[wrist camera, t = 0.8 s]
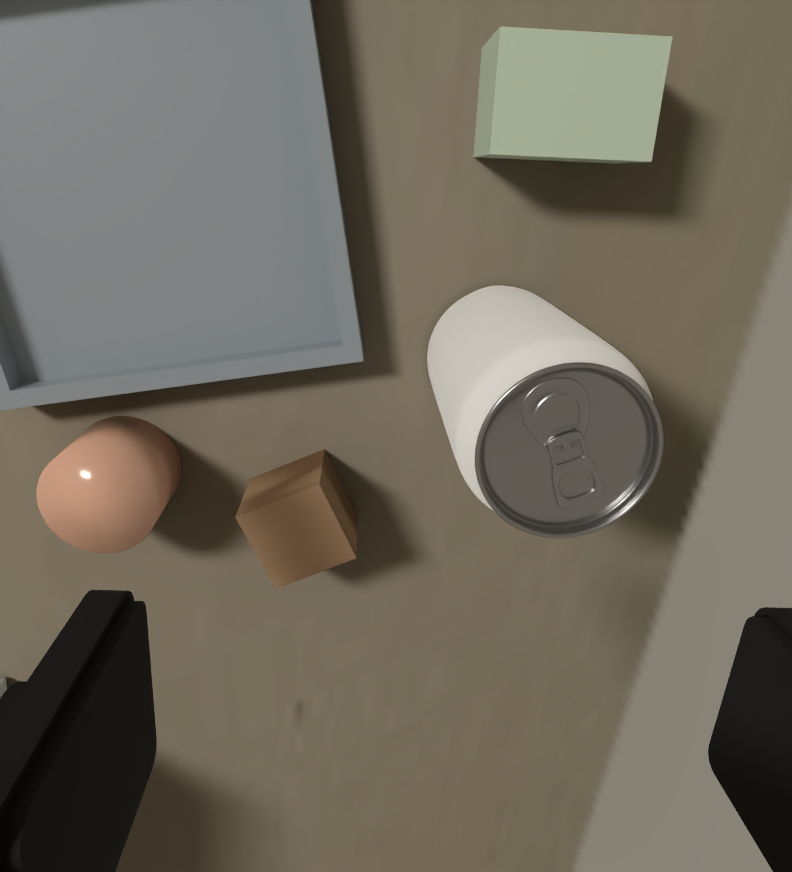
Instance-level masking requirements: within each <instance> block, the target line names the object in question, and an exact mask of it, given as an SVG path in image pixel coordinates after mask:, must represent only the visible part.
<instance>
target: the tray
mask: <svg viewBox="0 0 792 872" xmlns="http://www.w3.org/2000/svg"><path fill="white" fill-rule="evenodd" d="M362 361H364V349H363V343H362V336H361V329H360V322H359V316H358V309H357V302H356V296H355V289H354V282H353V275H352V269H351V262H350V255H349V248H348V242H347V235H346V228H345V222H344V215H343V208H342V201H341V195H340V188H339V181H338V174H337V168H336V161H335V154H334V148H333V141H332V134H331V127H330V121H329V114H328V107H327V100H326V94H325V87H324V80H323V74H322V67H321V60H320V53H319V47H318V40H317V33H316V26H315V20H314V13H313V6H312V0H0V410H8V409H15V408H22V407H30V406H37V405H45V404H52V403H59V402H67V401H74V400H82V399H89V398H96V397H104V396H111V395H119V394H126V393H133V392H141V391H148V390H155V389H163V388H170V387H178V386H185V385H192V384H200V383H207V382H215V381H222V380H229V379H237V378H244V377H252V376H259V375H266V374H274V373H281V372H289V371H296V370H303V369H311V368H318V367H325V366H333V365H340V364H348V363H355V362H362Z"/></svg>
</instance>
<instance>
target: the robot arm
mask: <svg viewBox="0 0 792 872" xmlns="http://www.w3.org/2000/svg"><path fill="white" fill-rule="evenodd" d="M155 754H156V727H155V714H154V702H153V689H152V676H151V663H150V651H149V638H148V625H147V613H146V605H145V603H144V602H143V601H134V597H133V594H132V592H130V591H115V590H91V591H89V592H88V593H87V594H86V595H85V596H84V598H83V599H82V601H81V602H80V604H79V605H78V607H77V608H76V610H75V611H74V613H73V614H72V616H71V617H70V619H69V620H68V622H67V623H66V625H65V626H64V628H63V629H62V630H61V632H60V633H59V635H58V636H57V638H56V639H55V641H54V642H53V644H52V645H51V647H50V648H49V650H48V651H47V653H46V654H45V656H44V657H43V659H42V660H41V662H40V663H39V665H38V666H37V668H36V669H35V670H34V672H33V673H32V675H31V676H30V678H29V679H28V681H27V682H20V681H18V682H16V683H14V684H12V685H11V686H10V687H9V688H8V689H7V690H6V691H5V692H4V694H3V695H2V696H1V698H0V872H115V870H116V868H117V865H118V862H119V859H120V857H121V854H122V851H123V848H124V845H125V843H126V840H127V837H128V834H129V831H130V829H131V826H132V823H133V820H134V818H135V815H136V812H137V809H138V806H139V804H140V801H141V798H142V795H143V793H144V790H145V787H146V784H147V781H148V779H149V776H150V773H151V770H152V767H153V764H154V759H155ZM708 754H709V761H710V765H711V768H712V770H713V772H714V774H715V776H716V777H717V779H718V781H719V783H720V784H721V786H722V788H723V789H724V791H725V793H726V794H727V796H728V798H729V799H730V801H731V803H732V804H733V806H734V807H735V809H736V811H737V812H738V814H739V816H740V817H741V819H742V821H743V822H744V824H745V826H746V827H747V829H748V831H749V832H750V834H751V836H752V837H753V839H754V841H755V842H756V844H757V845H758V847H759V849H760V851H761V852H762V854H763V856H764V857H765V859H766V861H767V862H768V864H769V865H770V867H771V869H772V870H773V872H792V608H766V607H765V608H761V609H759V610H758V611H757V612H756V613H755V616H753V617H750V618H748V619H747V620H746V623H745V625H744V628H743V632H742V635H741V639H740V643H739V645H738V649H737V652H736V655H735V659H734V662H733V666H732V669H731V672H730V677H729V679H728V683H727V686H726V689H725V693H724V696H723V700H722V703H721V707H720V710H719V713H718V717H717V720H716V723H715V727H714V730H713V734H712V737H711V741H710V744H709V749H708Z"/></svg>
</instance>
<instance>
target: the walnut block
mask: <svg viewBox="0 0 792 872" xmlns="http://www.w3.org/2000/svg"><path fill="white" fill-rule="evenodd" d="M235 518H236V520H237V522H238V523H239V525H240V527H241V529H242V530H243V532H244V534H245V536H246V537H247V539H248V541H249V543H250V544H251V546H252V548H253V550H254V551H255V553H256V555H257V557H258V558H259V560H260V562H261V564H262V565H263V567H264V569H265V571H266V572H267V574H268V576H269V578H270V579H271V581H272V583H273V585H274V586H275V588H276V589H277V588H280V587H282V586H285V585H287V584H290V583H293V582H295V581H298V580H301V579H303V578H306V577H309V576H311V575H314V574H316V573H319V572H322V571H324V570H327V569H330V568H332V567H335V566H337V565H340V564H343V563H345V562H348V561H351V560H353V559H356V558H357V515H356V513H355V511H354V509H353V507H352V505H351V503H350V501H349V499H348V497H347V495H346V493H345V491H344V488H343V486H342V484H341V482H340V480H339V478H338V476H337V474H336V472H335V470H334V468H333V466H332V464H331V462H330V460H329V458H328V456H327V454H326V452H325V450H322V451H319V452H317V453H314V454H312V455H309V456H307V457H304V458H302V459H299V460H297V461H294V462H291V463H289V464H286V465H284V466H281V467H279V468H276V469H274V470H271V471H269V472H266V473H264V474H261V475H259V476H256V477H254V478H251V479H250V480H249V482H248V485H247V488H246V490H245V493H244V496H243V498H242V501H241V504H240V506H239V509H238V512H237V514H236V517H235Z"/></svg>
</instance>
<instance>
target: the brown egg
mask: <svg viewBox="0 0 792 872" xmlns="http://www.w3.org/2000/svg"><path fill="white" fill-rule="evenodd" d="M181 471H182V468H181V460H180V456H179V453H178V451H177V449H176V447H175V445H174V444H173V442H172V441H171V439H170V438H169V437H168V436H167V435H166V434H165V433H164V432H163V431H162V430H160V429H159V428H158V427H156V426H155V425H153V424H151V423H149V422H147V421H145V420H142V419H139V418H135V417H129V416H114V417H109V418H105V419H102V420H100V421H98V422H96V423H94V424H93V425H91V426H90V427H89V428H88V429H87V430H86V431H84V432H83V433H82V434H81V435H80V436H79V437H78V438H77V439H75V440H74V441H73V442H72V443H71V444H70V445H69V446H68V447H67V448H65V449H64V450H63V451H62V452H61V453H60V454H59V455H58V456H56V457H55V458H54V459H53V460H52V461H51V462H50V463H49V464H48V465H47V466H46V467H45V469H44V470H43V472H42V474H41V476H40V478H39V481H38V485H37V503H38V507H39V510H40V512H41V515H42V517H43V518H44V520H45V522H46V523H47V525H48V526H49V527H50V528H51V530H52V531H53V532H54V533H55V534H56V535H58V536H59V537H60V538H61V539H63V540H64V541H66V542H67V543H69V544H71V545H73V546H75V547H77V548H80V549H82V550H85V551H89V552H95V553H116V552H121V551H124V550H127V549H130V548H132V547H134V546H136V545H137V544H139V543H140V542H141V541H142V540H144V539H145V538H146V537H147V535H148V534H149V533H150V531H151V530H152V528H153V526H154V525H155V523H156V522H157V520H158V518H159V517H160V515H161V513H162V512H163V510H164V509H165V507H166V505H167V504H168V502H169V500H170V499H171V497H172V495H173V494H174V492H175V491H176V489H177V487H178V485H179V482H180V479H181Z"/></svg>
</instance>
